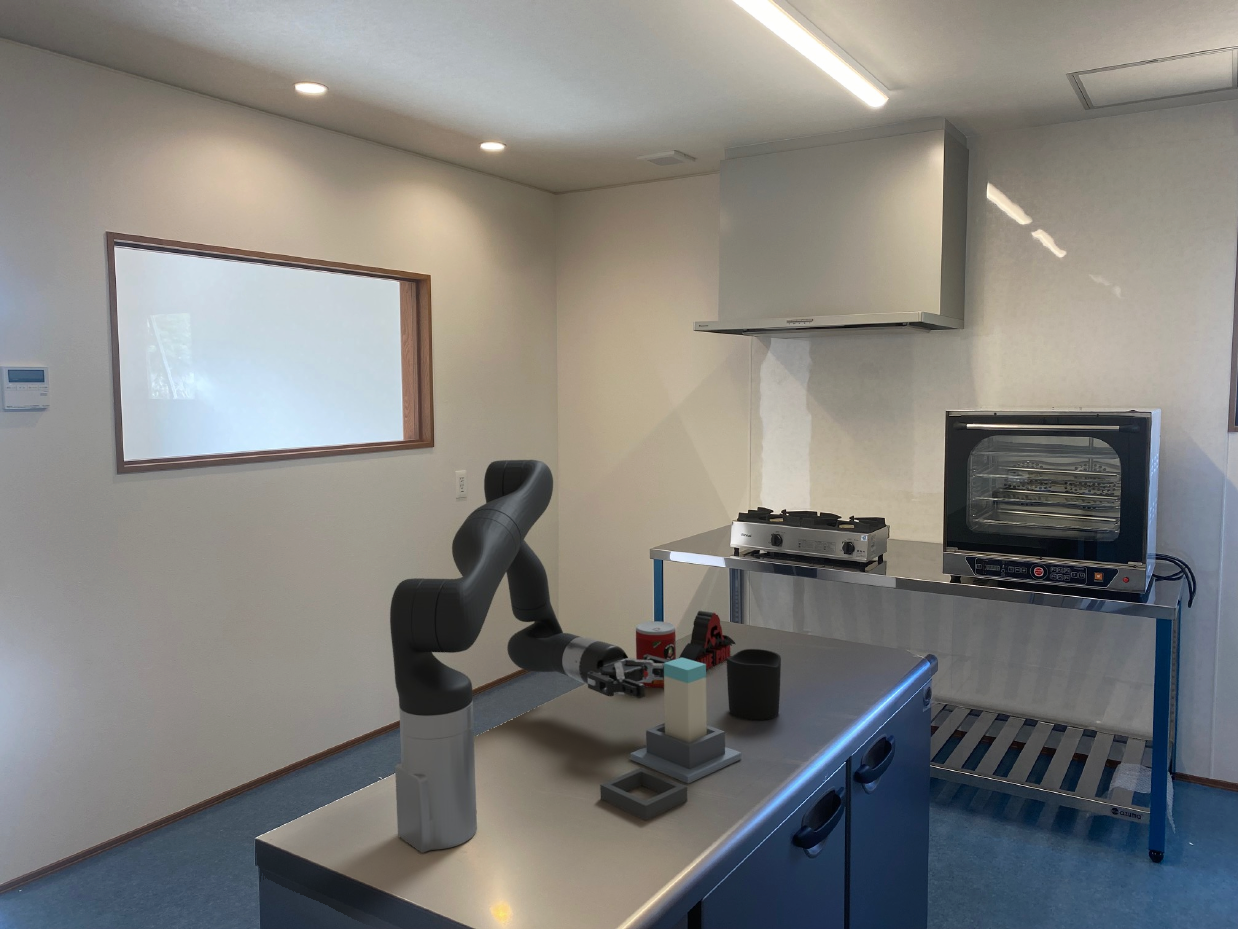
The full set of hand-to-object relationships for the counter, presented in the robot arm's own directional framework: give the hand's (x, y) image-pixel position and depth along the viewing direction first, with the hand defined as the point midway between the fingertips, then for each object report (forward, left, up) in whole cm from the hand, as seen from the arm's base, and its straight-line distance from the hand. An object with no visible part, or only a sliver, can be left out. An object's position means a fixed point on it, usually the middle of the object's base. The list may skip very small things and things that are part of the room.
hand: (662, 685), depth 138 cm
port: (0, -5, -10) cm, 12 cm away
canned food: (+23, +24, -11) cm, 35 cm away
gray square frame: (-14, -10, -10) cm, 20 cm away
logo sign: (+38, +24, -11) cm, 46 cm away
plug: (0, -5, -9) cm, 11 cm away
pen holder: (+23, 0, -11) cm, 25 cm away
